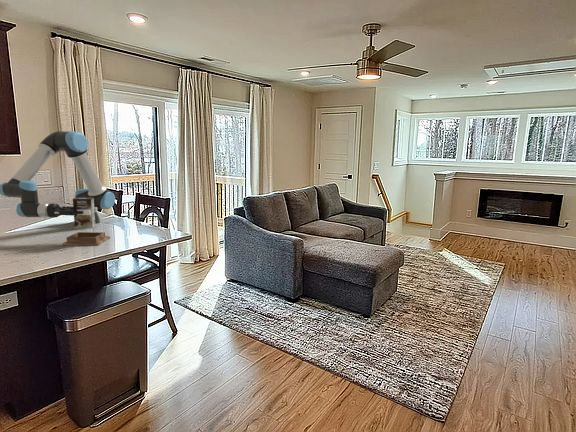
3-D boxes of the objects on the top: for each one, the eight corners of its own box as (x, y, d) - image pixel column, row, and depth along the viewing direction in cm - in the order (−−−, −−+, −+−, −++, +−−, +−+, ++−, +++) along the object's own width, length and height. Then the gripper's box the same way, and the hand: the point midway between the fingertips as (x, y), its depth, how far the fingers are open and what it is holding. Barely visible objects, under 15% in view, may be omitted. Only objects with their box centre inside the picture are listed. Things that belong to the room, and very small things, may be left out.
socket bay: (77, 237, 212) (77, 230, 211) (110, 238, 213) (109, 231, 212) (63, 245, 196) (62, 237, 195) (98, 245, 198) (97, 238, 197)
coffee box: (74, 228, 198) (71, 198, 195) (77, 226, 204) (75, 197, 201) (93, 228, 200) (90, 198, 197) (96, 225, 206) (93, 197, 203)
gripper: (60, 213, 210) (102, 214, 211) (39, 221, 190) (85, 221, 191) (59, 200, 208) (101, 201, 210) (37, 206, 188) (84, 207, 190)
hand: (93, 211), depth 201 cm, fingers closed on coffee box, 7 cm apart
